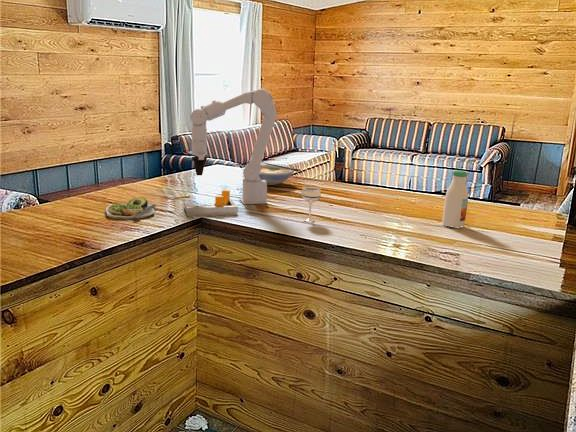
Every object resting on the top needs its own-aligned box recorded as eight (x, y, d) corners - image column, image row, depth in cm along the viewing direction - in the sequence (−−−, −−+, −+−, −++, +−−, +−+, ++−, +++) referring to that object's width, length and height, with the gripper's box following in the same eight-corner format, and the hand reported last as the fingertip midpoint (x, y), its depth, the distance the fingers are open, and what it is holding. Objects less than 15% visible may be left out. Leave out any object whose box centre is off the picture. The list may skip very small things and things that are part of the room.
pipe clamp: (218, 205, 203) (218, 189, 201) (229, 206, 202) (229, 190, 201) (210, 213, 191) (210, 196, 190) (222, 214, 191) (222, 197, 189)
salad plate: (161, 221, 180) (160, 208, 179) (105, 224, 174) (105, 210, 173) (155, 207, 197) (155, 195, 196) (105, 209, 192) (104, 196, 190)
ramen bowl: (232, 182, 245) (233, 164, 243) (269, 177, 260) (270, 160, 258) (267, 192, 227) (268, 173, 225) (305, 186, 242) (306, 168, 240)
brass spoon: (188, 196, 215) (188, 194, 215) (191, 197, 213) (191, 195, 213) (173, 198, 211) (173, 196, 211) (176, 199, 210) (176, 197, 209)
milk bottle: (452, 229, 184) (460, 173, 178) (437, 224, 190) (444, 169, 185) (468, 227, 187) (476, 172, 182) (453, 222, 194) (460, 168, 189)
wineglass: (309, 217, 192) (311, 184, 189) (323, 221, 187) (325, 188, 184) (296, 220, 187) (297, 187, 184) (310, 224, 183) (311, 190, 179)
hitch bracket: (231, 206, 201) (232, 199, 201) (237, 214, 191) (237, 206, 190) (184, 207, 197) (184, 200, 196) (187, 216, 186) (187, 208, 185)
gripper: (186, 138, 209) (187, 171, 213) (190, 143, 196) (190, 178, 200) (204, 138, 211) (204, 171, 215) (209, 143, 198) (209, 178, 202)
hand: (199, 175), depth 207 cm, fingers closed
